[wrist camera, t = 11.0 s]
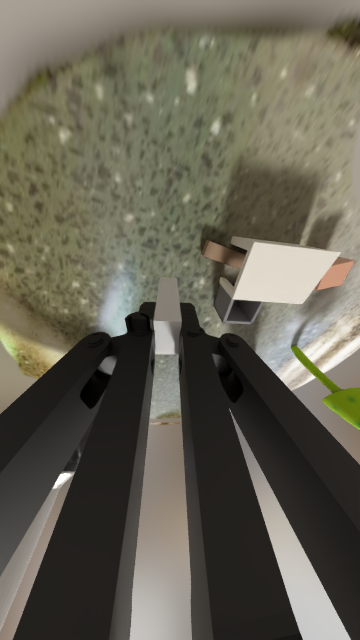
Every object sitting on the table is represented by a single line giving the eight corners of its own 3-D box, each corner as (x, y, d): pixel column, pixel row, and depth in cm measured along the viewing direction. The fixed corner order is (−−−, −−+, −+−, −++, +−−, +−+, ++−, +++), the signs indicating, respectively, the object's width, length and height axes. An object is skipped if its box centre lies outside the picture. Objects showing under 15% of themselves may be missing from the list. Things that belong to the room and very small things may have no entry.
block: (293, 279, 31) (316, 290, 26) (300, 258, 28) (327, 267, 23) (314, 274, 30) (341, 284, 26) (322, 253, 28) (354, 260, 23)
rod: (200, 253, 26) (203, 255, 24) (206, 239, 25) (209, 240, 23) (284, 284, 32) (292, 288, 30) (293, 274, 30) (301, 277, 28)
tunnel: (212, 305, 34) (222, 325, 27) (232, 236, 25) (254, 242, 18) (263, 308, 35) (283, 328, 29) (299, 244, 26) (341, 252, 20)
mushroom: (292, 356, 49) (375, 449, 29) (275, 352, 47) (353, 450, 27) (312, 341, 45) (428, 439, 25) (295, 336, 42) (407, 438, 23)
